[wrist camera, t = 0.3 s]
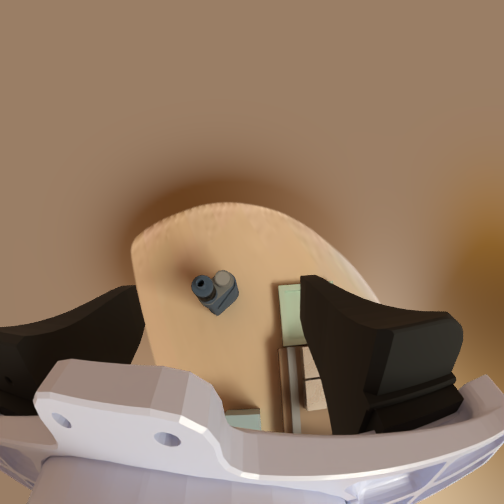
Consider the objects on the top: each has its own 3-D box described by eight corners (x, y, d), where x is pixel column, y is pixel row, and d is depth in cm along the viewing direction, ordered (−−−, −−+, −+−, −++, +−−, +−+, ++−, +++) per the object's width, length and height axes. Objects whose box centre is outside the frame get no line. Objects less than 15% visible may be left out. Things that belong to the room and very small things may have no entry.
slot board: (350, 436, 32) (357, 440, 29) (284, 446, 32) (286, 452, 29) (343, 341, 38) (349, 339, 35) (277, 349, 38) (279, 347, 35)
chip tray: (338, 340, 38) (340, 339, 37) (283, 346, 38) (283, 346, 37) (330, 283, 41) (332, 281, 40) (277, 288, 41) (278, 285, 40)
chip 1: (331, 373, 34) (336, 374, 32) (302, 377, 34) (305, 378, 32) (328, 345, 36) (333, 343, 33) (299, 348, 36) (302, 347, 33)
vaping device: (203, 306, 40) (183, 282, 29) (230, 282, 42) (220, 250, 31) (215, 319, 39) (199, 299, 28) (242, 295, 41) (236, 266, 30)
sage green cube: (261, 437, 33) (262, 446, 28) (229, 438, 33) (225, 447, 28) (259, 408, 34) (259, 414, 30) (227, 409, 34) (223, 415, 30)
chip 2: (333, 404, 32) (338, 406, 30) (304, 408, 32) (307, 411, 30) (331, 376, 34) (336, 376, 32) (302, 380, 34) (305, 380, 32)
